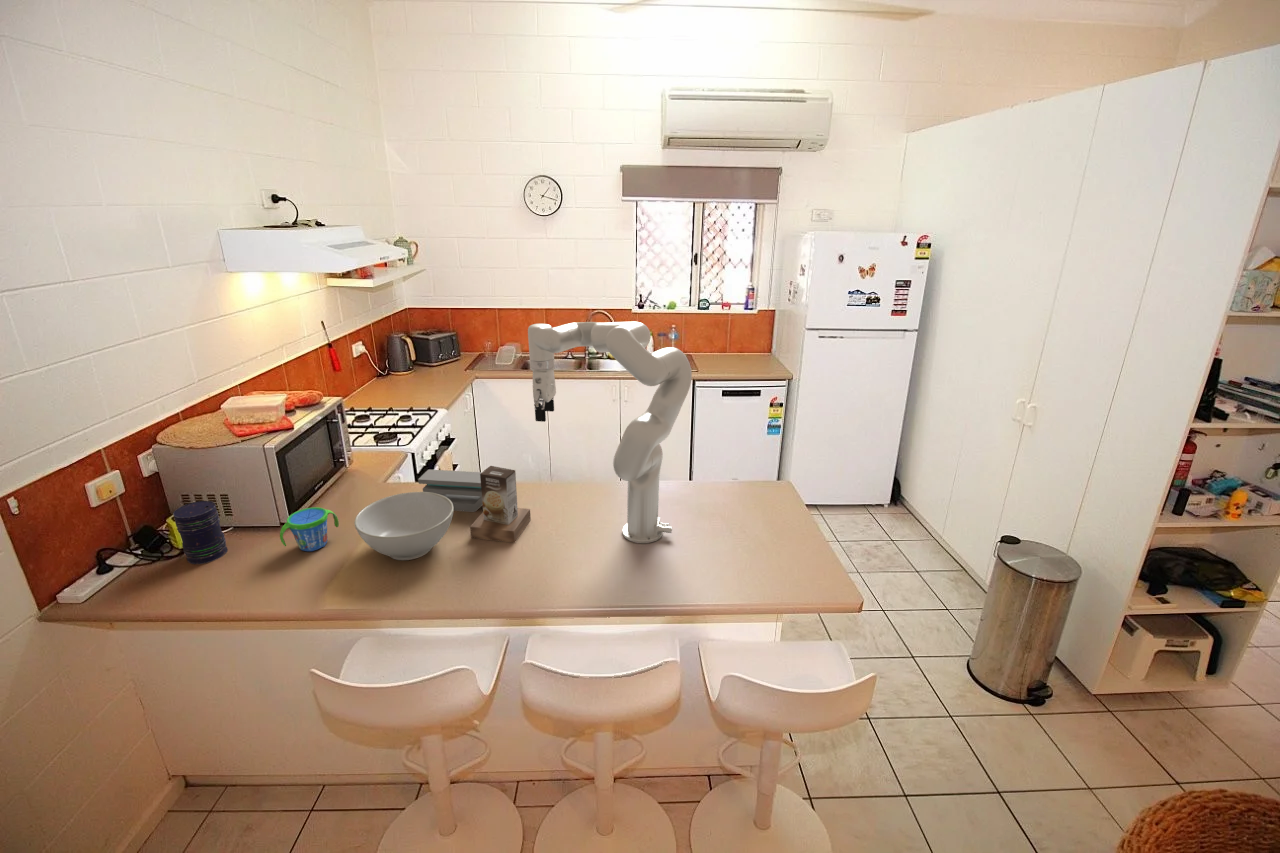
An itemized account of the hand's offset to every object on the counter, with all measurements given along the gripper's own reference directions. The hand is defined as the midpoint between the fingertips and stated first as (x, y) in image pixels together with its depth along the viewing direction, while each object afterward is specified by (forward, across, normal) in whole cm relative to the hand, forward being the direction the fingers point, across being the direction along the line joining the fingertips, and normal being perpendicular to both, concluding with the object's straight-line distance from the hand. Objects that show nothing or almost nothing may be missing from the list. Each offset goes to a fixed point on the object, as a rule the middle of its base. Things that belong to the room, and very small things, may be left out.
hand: (545, 416), depth 190 cm
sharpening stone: (+32, -5, +29) cm, 44 cm away
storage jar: (+32, -44, +90) cm, 105 cm away
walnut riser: (+32, -17, +11) cm, 38 cm away
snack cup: (+32, -35, +63) cm, 79 cm away
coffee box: (+28, -18, +11) cm, 35 cm away
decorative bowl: (+32, -32, +34) cm, 57 cm away
